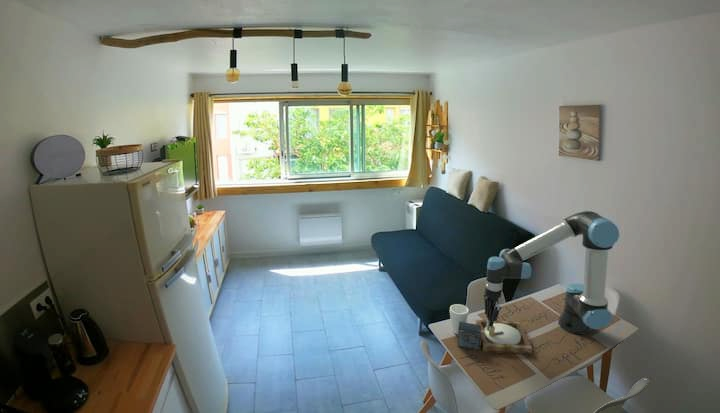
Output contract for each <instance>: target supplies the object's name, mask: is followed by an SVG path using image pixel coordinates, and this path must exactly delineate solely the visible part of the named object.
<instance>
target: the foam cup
mask: <svg viewBox="0 0 720 413" xmlns="http://www.w3.org/2000/svg"><path fill="white" fill-rule="evenodd" d="M469 311H470V310H469V308H468V306H466V305H464V304H460V303H458V304H457V303H456V304H455V303H454V304H452V305H450V307H449V316H450V323H451V324H450V327H451V332H452V333H453V334H455V335H458V331H459V330H458V328H459V322H464V323H468V322H467V321H468V317H469Z"/></svg>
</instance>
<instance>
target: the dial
mask: <svg viewBox="0 0 720 413" xmlns="http://www.w3.org/2000/svg"><path fill="white" fill-rule="evenodd" d="M484 334H485V337H486V339H487V340H488V341H489V342H491V343H492V344H509V345H518V344H519V343H520V340H521V335H520V333H519V332H518V330H516V329H515V328H513V327H511V326H509V325H506V324H501V323H494V324H493V326H489V331H487V330H486V328H485V332H484Z"/></svg>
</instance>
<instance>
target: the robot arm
mask: <svg viewBox="0 0 720 413" xmlns="http://www.w3.org/2000/svg"><path fill="white" fill-rule="evenodd" d="M580 235H581V236H582V244H581V245H582V246H583V247H584V248H585V256H584V274H583V276H584V277H583V284H582V283H570V284H569V285H567V286H566V290H565V298H564V306H563V310H562V312H561V314H560V315H559V317H558V320H557V321H558V322H557V323H558V325H559V327H560V328H562V330H564V331H567V332H568V333H573V334H575V333H578V334H577V335H583V334H582V333H587V332H589V331H590V332H591V331H592V329H593V330H600V329H603V328H606V326H608V325H610V324H611V322H612V319H613V317H612V314H611V312H610V311H609V310H608V305H609V299H607V298H606V296H605V295H606V292H605V291H606V280H607V270H608V258H609V251H610V250H613V246H614V245H615V244H616V243H617V242H618V240H619V238H620V231H619V228H618V226H617V225H616V224H615V223H614V222H612V221H611V220H610V219H608V218H606V217H603V216H602V215H600V214H599V213H597V212H595V211H592V210H589V211H588V210H586V211H581V212H576V213H575V214H572V215H570V216H568V217H566V218H564V219H562V220H561V223H559V224H557V225H556V226H553V227H552V228H550V229H547V230H545V231H544V232H542V233H540V234H538V235H536V236H534V237H532V238H530V239H529V240H526V241H525V242H523V243H521V244H519V245H517V246H516V247H513V248H504V249H502V250H501V251H500V252H499V256H491V257H489V258H488V260H487V265H486V277H485V278H486V279H485V288H484V294H483V300H484V315H486V320H487V325H486V330H487V331H489V326H493V322H494V321H498V318H499V314H500V311H501V309H502V307H501V306H499V299H500V298H501V297H502V293H503V292H502V291H503V281H504V279H519V280H520V279H521V280H522V279H530V277H531V276H532V267H531V266H532V265H531V264H530V263H529V262H523V261H525V260H527V259H530V258H532V257H534V256H536V255H537V254H540V253H541V252H544V251H545V250H547V249H549V248H551V247H553V246H555V245H557V244H559V243H561V242H562V241H563V242H564V241H565V240H566V239H568V238H570V237H571V238H576V237H577V236H580ZM590 332H589V333H590ZM580 333H581V334H580ZM587 334H588V333H587Z"/></svg>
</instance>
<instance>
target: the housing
mask: <svg viewBox="0 0 720 413" xmlns="http://www.w3.org/2000/svg"><path fill="white" fill-rule="evenodd" d="M494 323H501V324H506V325H509V326H511V327H513V328H515V329H516V330H518V332H519V333H520V335H521V340H520V343H519V344H518V345H509V344H492V343H491V342H489V341H488V340H487V339H486V337H485V334H484V332H485V328H486V325H487V319H475V324H477V325H481V339H480V346H481V345H482V346H481V349H482V351H483V353H490V352H491V353H494V354H495V353H496V354H509V355H510V354H511V355H525V356H526V355H527V356H532V354H533V346H532V345H531V343H530V340H529V339H528V337H527V335H526V332H525V330H524V328H523V326H522V324H521V322H520V321H514V320H513V321H512V320H497V321H494V322H493V324H494Z"/></svg>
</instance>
